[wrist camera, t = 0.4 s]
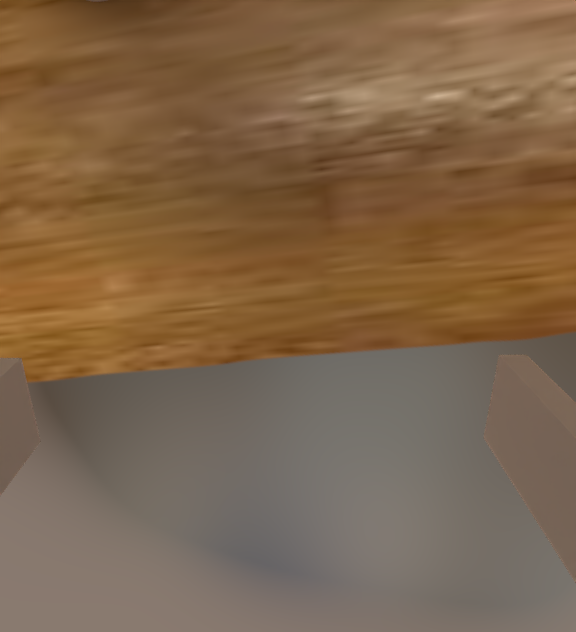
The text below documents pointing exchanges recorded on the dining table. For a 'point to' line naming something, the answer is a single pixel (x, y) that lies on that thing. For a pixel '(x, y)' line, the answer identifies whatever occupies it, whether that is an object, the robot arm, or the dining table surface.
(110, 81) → the dining table surface
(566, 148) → the dining table surface
